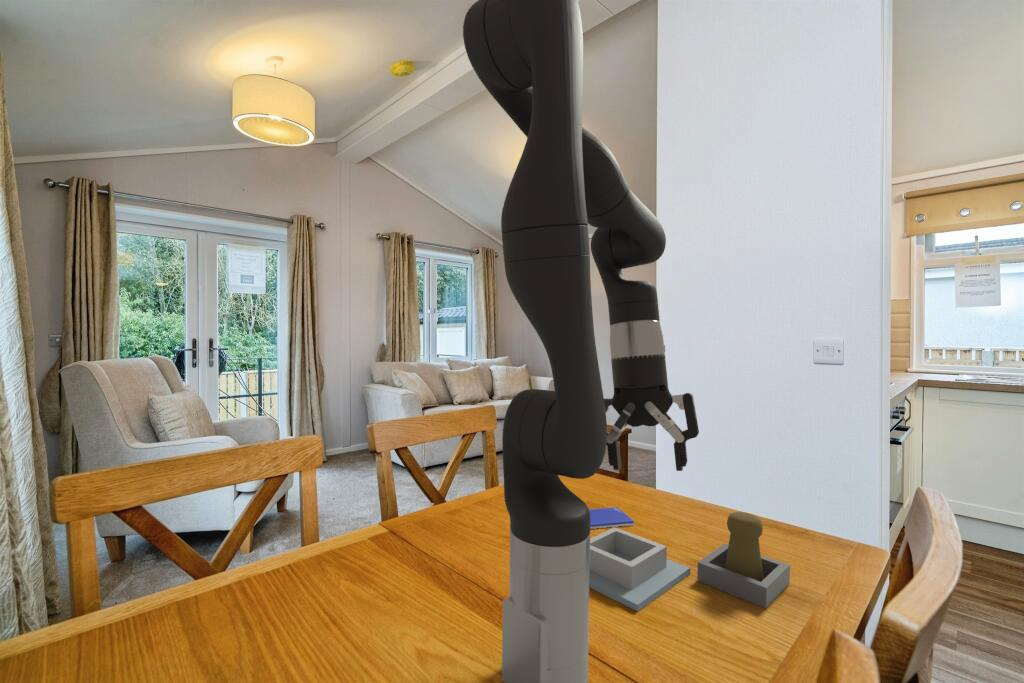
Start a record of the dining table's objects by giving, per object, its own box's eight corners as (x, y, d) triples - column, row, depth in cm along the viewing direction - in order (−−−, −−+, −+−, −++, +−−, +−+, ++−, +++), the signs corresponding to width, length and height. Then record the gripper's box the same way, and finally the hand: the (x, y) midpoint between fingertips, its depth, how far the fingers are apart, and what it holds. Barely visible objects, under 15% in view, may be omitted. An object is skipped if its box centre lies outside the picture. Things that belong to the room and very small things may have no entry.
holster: (766, 608, 70) (766, 588, 69) (697, 580, 77) (697, 562, 77) (789, 583, 77) (790, 564, 77) (724, 560, 84) (724, 543, 84)
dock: (637, 611, 68) (638, 580, 68) (554, 569, 80) (554, 543, 80) (690, 573, 79) (690, 547, 79) (610, 541, 91) (610, 518, 91)
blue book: (616, 506, 107) (564, 510, 104) (634, 520, 99) (577, 525, 96) (616, 513, 107) (564, 517, 104) (633, 528, 99) (577, 533, 96)
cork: (741, 594, 73) (743, 523, 73) (714, 575, 79) (716, 509, 79) (773, 589, 75) (775, 520, 75) (745, 570, 81) (746, 506, 80)
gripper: (582, 358, 68) (591, 474, 66) (687, 349, 62) (700, 475, 61) (595, 359, 75) (604, 464, 73) (691, 351, 69) (703, 465, 67)
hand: (648, 469), depth 67 cm, fingers open, 8 cm apart
